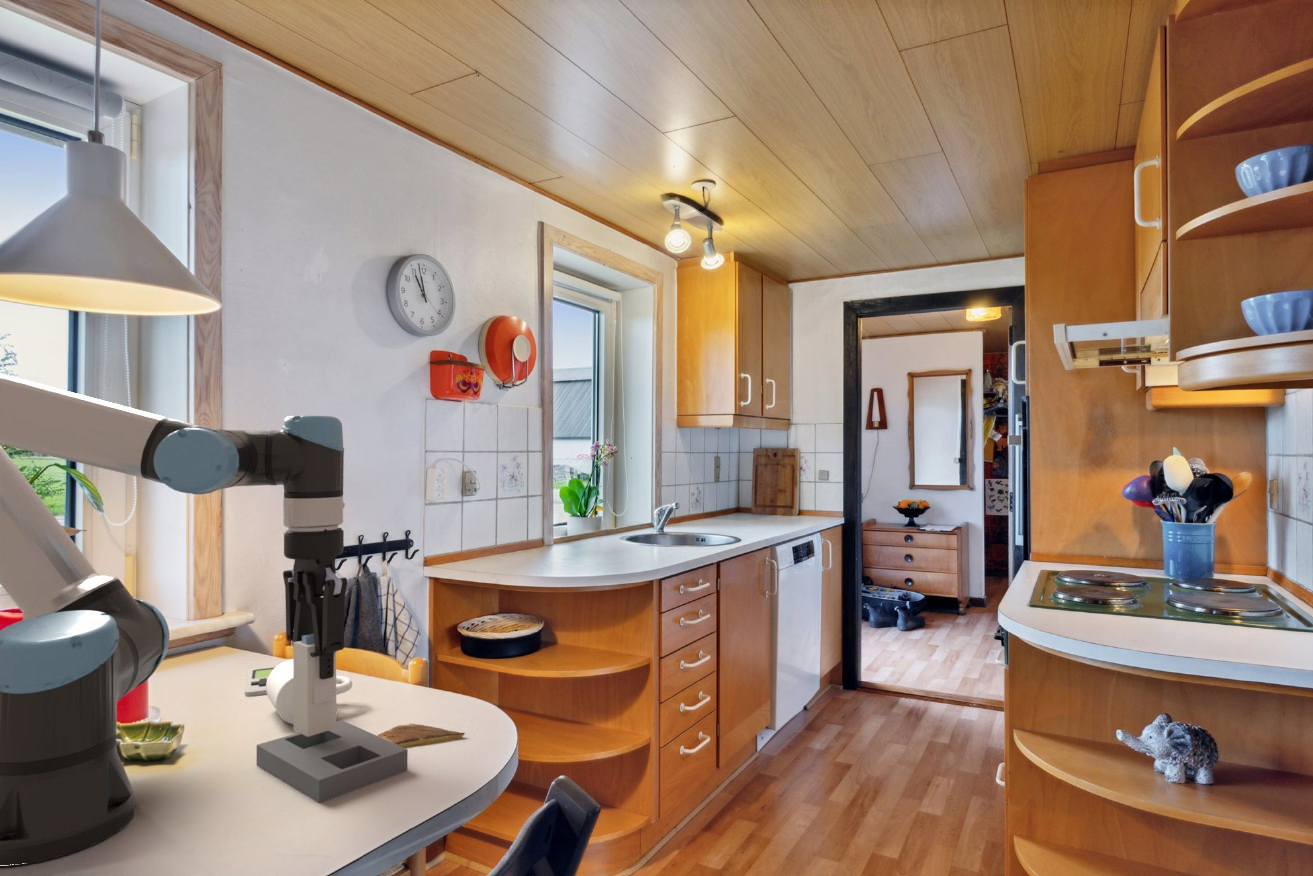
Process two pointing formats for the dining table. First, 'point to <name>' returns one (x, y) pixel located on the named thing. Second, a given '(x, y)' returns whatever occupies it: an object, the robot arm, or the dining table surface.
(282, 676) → the mug
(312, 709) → the plug
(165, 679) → the dining table surface
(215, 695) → the dining table surface
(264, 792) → the dining table surface
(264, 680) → the handheld gaming console
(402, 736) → the shard
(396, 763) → the panel
